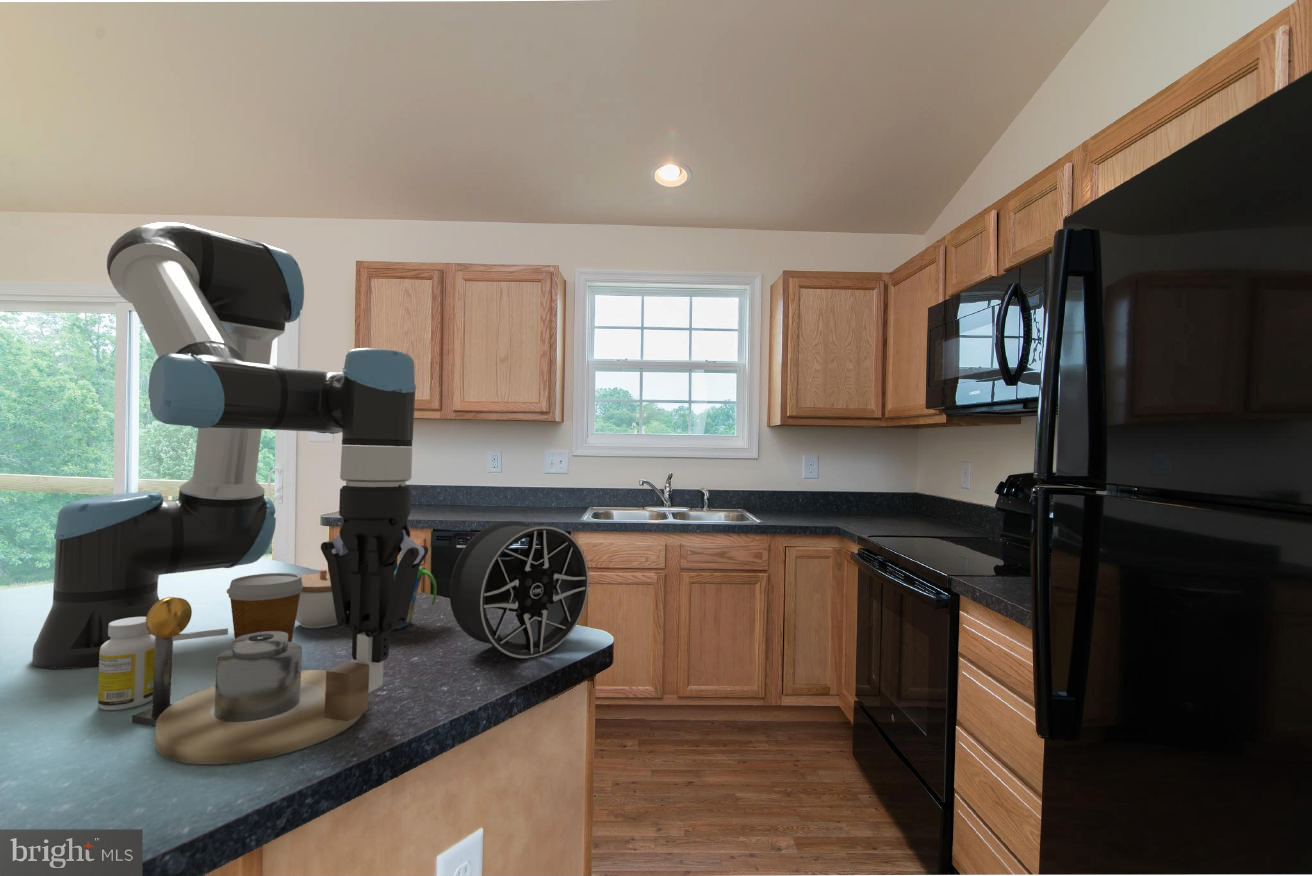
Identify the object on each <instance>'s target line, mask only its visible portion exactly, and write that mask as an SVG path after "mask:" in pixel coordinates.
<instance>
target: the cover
mask: <svg viewBox="0 0 1312 876" xmlns="http://www.w3.org/2000/svg"><path fill="white" fill-rule="evenodd" d="M302 654H303V646H302V645H301V644H300V643H297V642H293V641H292V642H288V633H285V632H281V631H265V632H257V633H251V634H247V635H243V636H240V637H238V638H236V639H235V638H234V639H233V641H232V648H230V649H228V650H225V651H223V652H221V653H220V654H218V655H217V657H216V662H215V663H216V667H215V685H214V686H215V709H214V716H215V718H216V719H218V720H221V721H225V722H249V721H256V720H262V719H266V718H270V717H274V716H277V715H280V714H282V713H285V712H287V711H289V710H291V709H292V708H294V707H295V706H297V705H298V703H299V702H300V684H301V670H302V657H303V656H302Z"/></svg>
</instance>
